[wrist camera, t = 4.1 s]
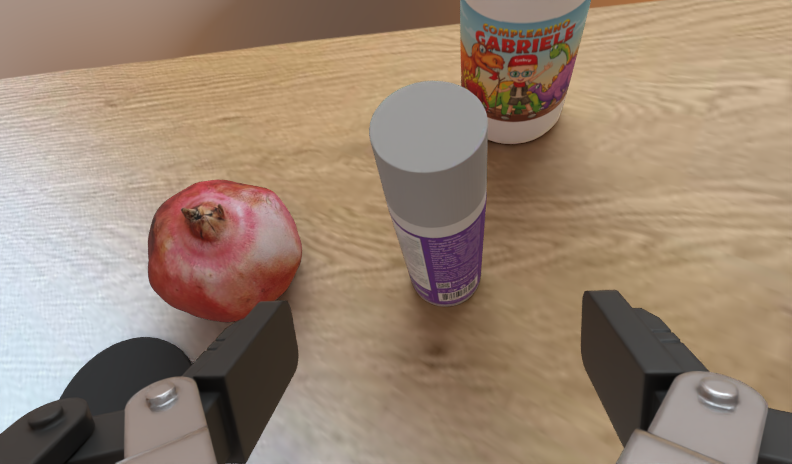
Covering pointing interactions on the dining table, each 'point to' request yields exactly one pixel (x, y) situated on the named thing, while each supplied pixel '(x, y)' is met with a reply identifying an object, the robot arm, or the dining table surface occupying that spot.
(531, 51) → the milk bottle
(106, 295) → the dining table surface
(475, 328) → the dining table surface
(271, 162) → the dining table surface
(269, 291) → the fruit
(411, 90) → the container
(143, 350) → the coaster
